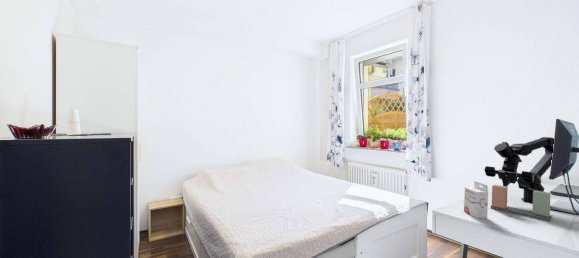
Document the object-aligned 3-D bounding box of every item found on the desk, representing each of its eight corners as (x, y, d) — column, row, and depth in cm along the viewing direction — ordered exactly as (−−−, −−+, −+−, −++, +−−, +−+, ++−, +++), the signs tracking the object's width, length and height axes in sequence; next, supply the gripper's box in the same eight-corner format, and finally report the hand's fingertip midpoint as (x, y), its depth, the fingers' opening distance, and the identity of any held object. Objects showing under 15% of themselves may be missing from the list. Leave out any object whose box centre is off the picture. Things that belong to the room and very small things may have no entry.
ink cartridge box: (463, 211, 116) (464, 180, 115) (473, 211, 116) (474, 180, 115) (476, 218, 107) (477, 185, 107) (487, 218, 107) (489, 185, 107)
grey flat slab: (494, 205, 125) (494, 203, 125) (551, 218, 109) (551, 215, 109) (490, 208, 121) (490, 205, 121) (549, 221, 105) (549, 218, 105)
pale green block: (534, 211, 113) (535, 189, 113) (550, 214, 109) (550, 192, 109) (532, 213, 110) (533, 191, 110) (548, 216, 106) (549, 193, 106)
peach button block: (494, 204, 123) (494, 184, 123) (507, 206, 119) (508, 186, 118) (491, 205, 120) (492, 185, 120) (504, 208, 116) (505, 187, 116)
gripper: (536, 176, 126) (531, 201, 120) (491, 169, 141) (484, 191, 134) (535, 162, 121) (529, 188, 114) (487, 157, 135) (480, 179, 129)
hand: (504, 187), depth 123 cm, fingers closed
